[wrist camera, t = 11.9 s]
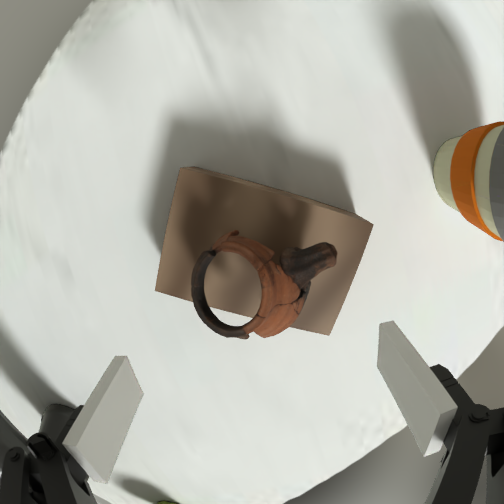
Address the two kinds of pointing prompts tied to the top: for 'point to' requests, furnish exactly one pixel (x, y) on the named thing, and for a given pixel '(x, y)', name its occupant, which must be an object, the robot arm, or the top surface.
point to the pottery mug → (265, 283)
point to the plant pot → (165, 502)
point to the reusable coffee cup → (474, 177)
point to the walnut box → (263, 231)
